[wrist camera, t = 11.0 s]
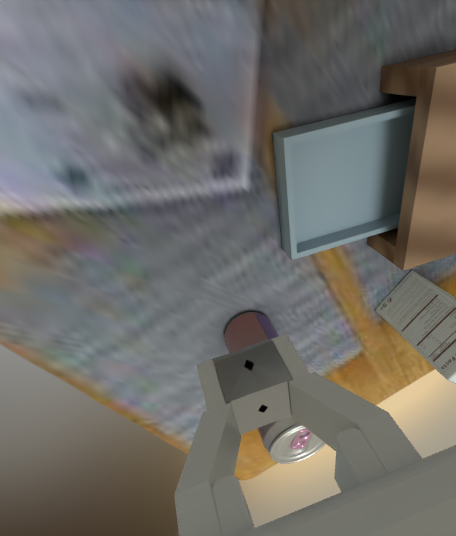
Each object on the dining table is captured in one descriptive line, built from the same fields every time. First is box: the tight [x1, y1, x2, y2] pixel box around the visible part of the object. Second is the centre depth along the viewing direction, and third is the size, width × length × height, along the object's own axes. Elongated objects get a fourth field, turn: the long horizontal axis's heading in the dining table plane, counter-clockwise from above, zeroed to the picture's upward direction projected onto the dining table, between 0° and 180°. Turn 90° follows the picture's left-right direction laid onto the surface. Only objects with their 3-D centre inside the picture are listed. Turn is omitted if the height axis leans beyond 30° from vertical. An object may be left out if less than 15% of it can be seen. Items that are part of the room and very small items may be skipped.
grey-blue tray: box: [272, 97, 417, 260], centre depth 32 cm, size 12×19×2 cm, turn 100°
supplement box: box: [376, 270, 456, 384], centre depth 40 cm, size 7×7×13 cm
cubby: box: [367, 50, 456, 271], centre depth 32 cm, size 18×12×6 cm, turn 10°
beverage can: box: [225, 312, 326, 464], centre depth 34 cm, size 6×6×15 cm
